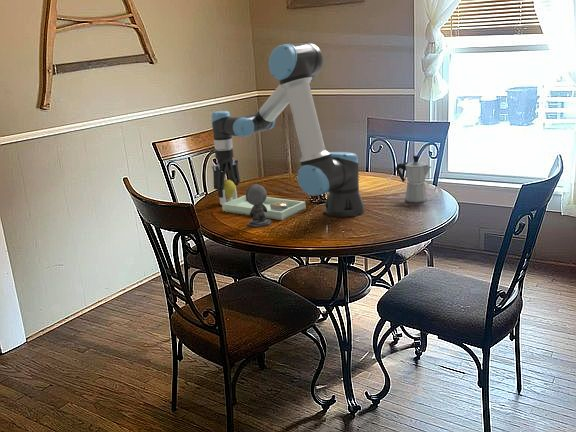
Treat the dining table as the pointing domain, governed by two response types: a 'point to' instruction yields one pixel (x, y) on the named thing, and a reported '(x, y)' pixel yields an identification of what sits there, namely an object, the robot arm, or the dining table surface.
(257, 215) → the figurine
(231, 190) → the light bulb
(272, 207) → the tin
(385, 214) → the dining table surface
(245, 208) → the pale green tray
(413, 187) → the coffee maker
